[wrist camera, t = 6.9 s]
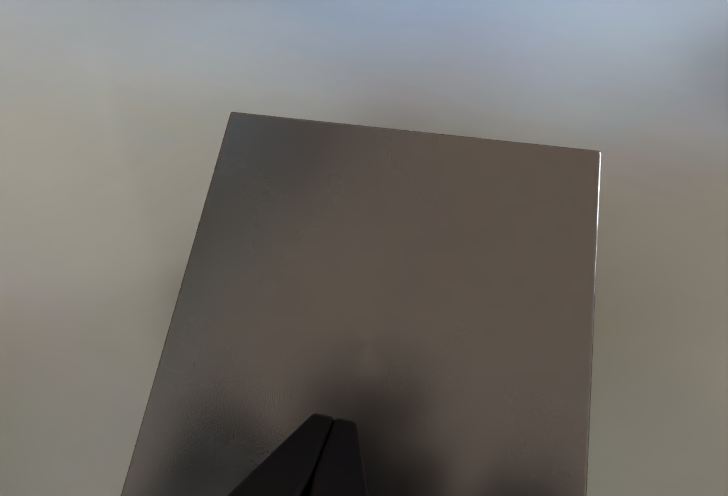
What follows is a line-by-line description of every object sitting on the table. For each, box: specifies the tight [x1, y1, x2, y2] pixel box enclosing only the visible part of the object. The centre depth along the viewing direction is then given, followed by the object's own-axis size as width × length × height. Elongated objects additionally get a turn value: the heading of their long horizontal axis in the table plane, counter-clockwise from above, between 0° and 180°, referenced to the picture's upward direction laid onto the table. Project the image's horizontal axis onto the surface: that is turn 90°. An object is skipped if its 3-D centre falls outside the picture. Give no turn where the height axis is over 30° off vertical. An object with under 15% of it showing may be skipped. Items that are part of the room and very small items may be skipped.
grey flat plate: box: [121, 112, 601, 496], centre depth 12 cm, size 13×12×1 cm
